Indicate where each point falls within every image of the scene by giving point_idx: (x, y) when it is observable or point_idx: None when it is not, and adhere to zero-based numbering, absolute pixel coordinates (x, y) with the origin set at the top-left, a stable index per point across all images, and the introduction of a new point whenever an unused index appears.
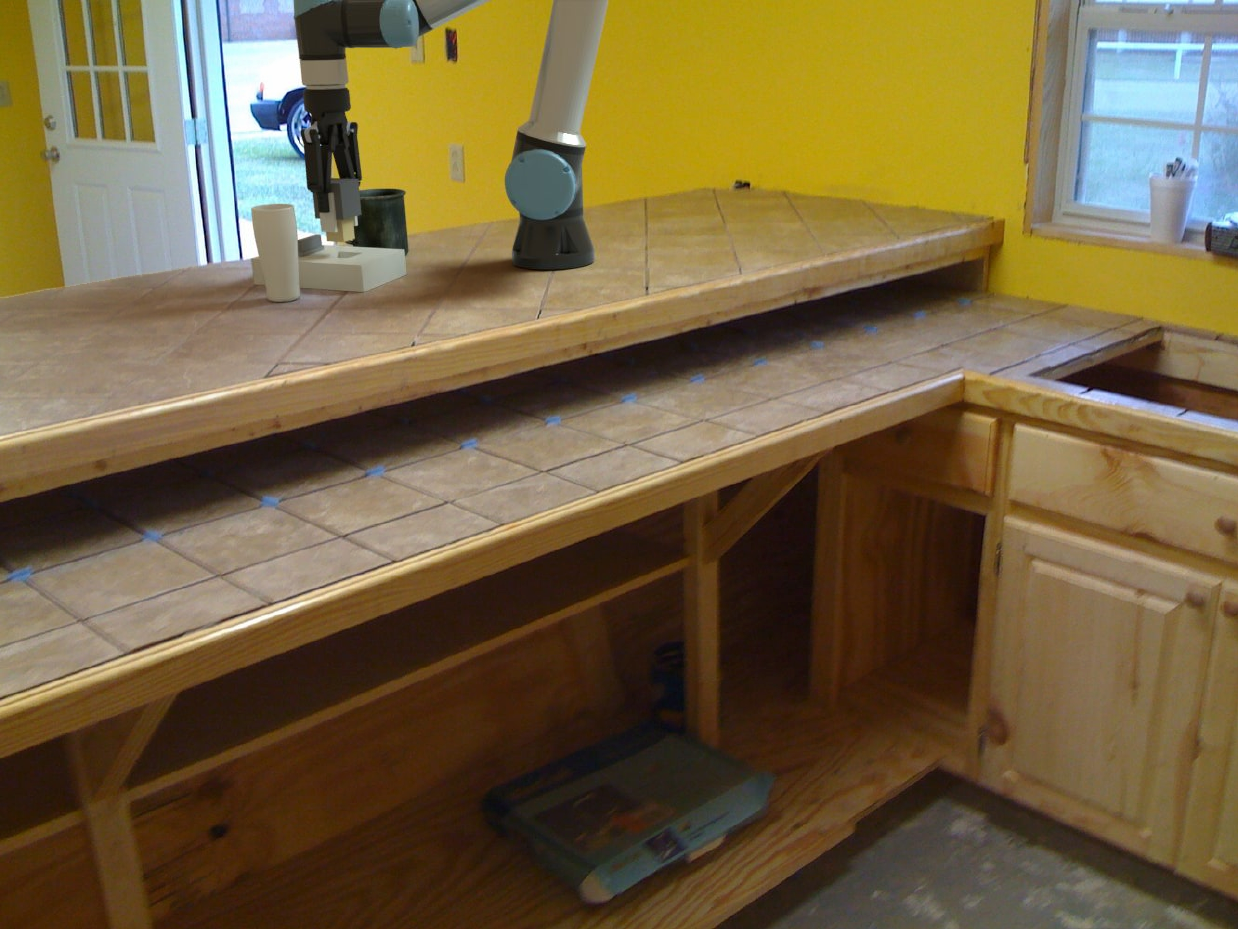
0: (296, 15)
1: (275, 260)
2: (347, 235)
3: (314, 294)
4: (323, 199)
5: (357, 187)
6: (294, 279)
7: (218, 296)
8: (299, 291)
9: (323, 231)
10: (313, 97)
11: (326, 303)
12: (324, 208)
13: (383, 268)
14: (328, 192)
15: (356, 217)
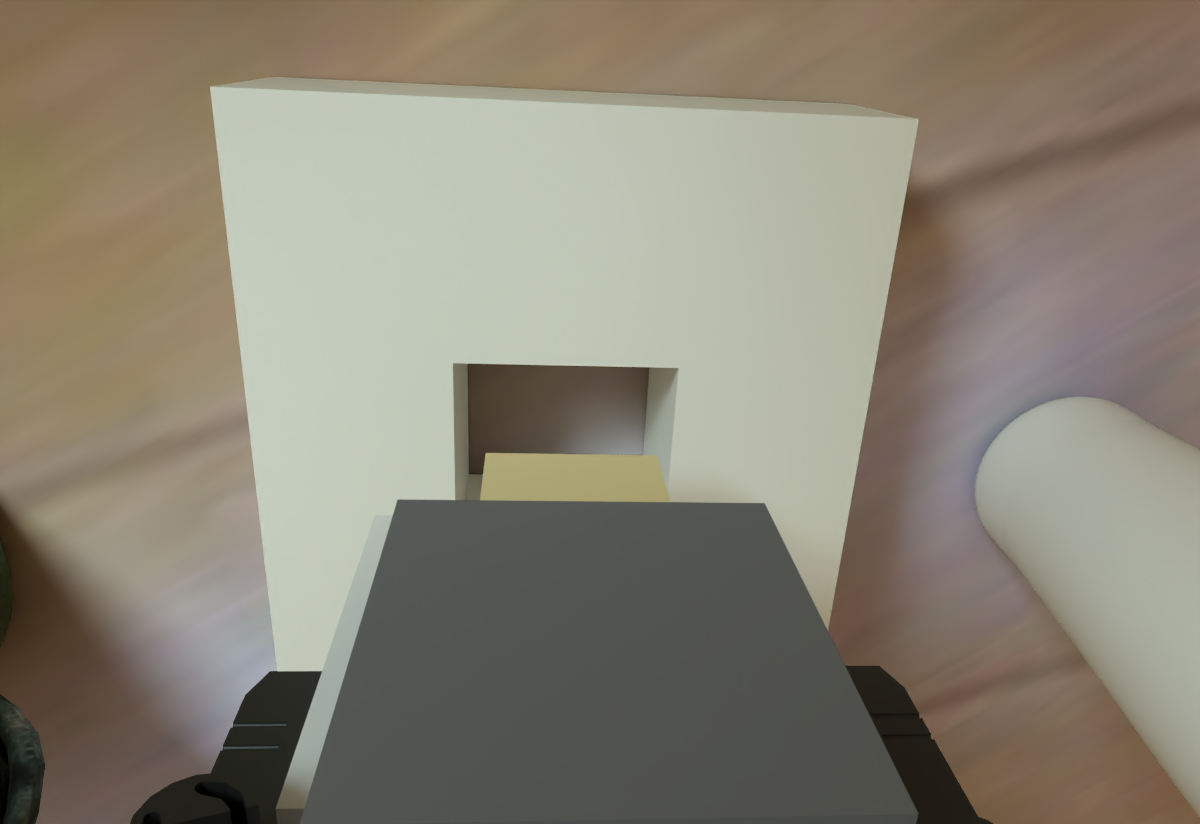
0: None
1: None
2: (597, 474)
3: (928, 379)
4: (951, 791)
5: (374, 716)
6: (1163, 437)
7: (1000, 776)
8: (1069, 408)
9: None
10: None
11: (1150, 184)
12: (909, 710)
13: (588, 97)
14: (953, 819)
15: (374, 556)
